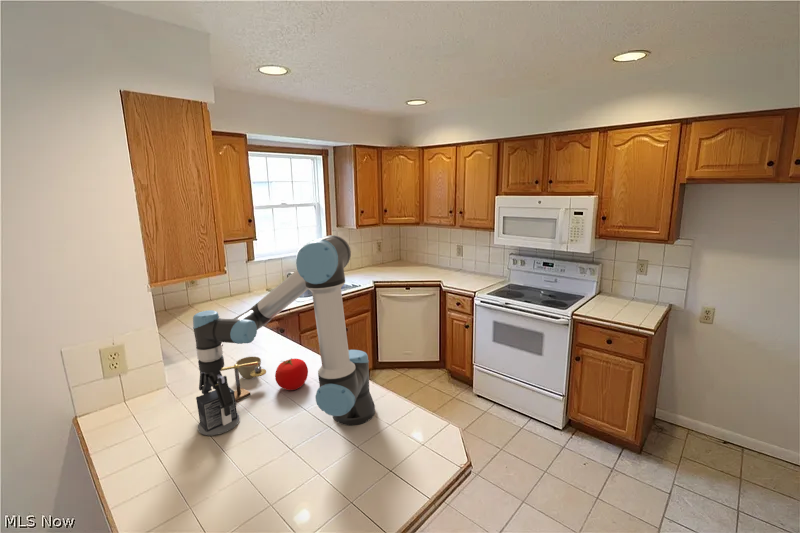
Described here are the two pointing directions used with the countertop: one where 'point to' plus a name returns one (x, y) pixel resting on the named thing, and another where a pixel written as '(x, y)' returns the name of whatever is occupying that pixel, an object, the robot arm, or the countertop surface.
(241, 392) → the balance
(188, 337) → the countertop surface
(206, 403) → the small box
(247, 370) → the flower pot
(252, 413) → the countertop surface
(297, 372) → the tomato
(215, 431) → the dish
